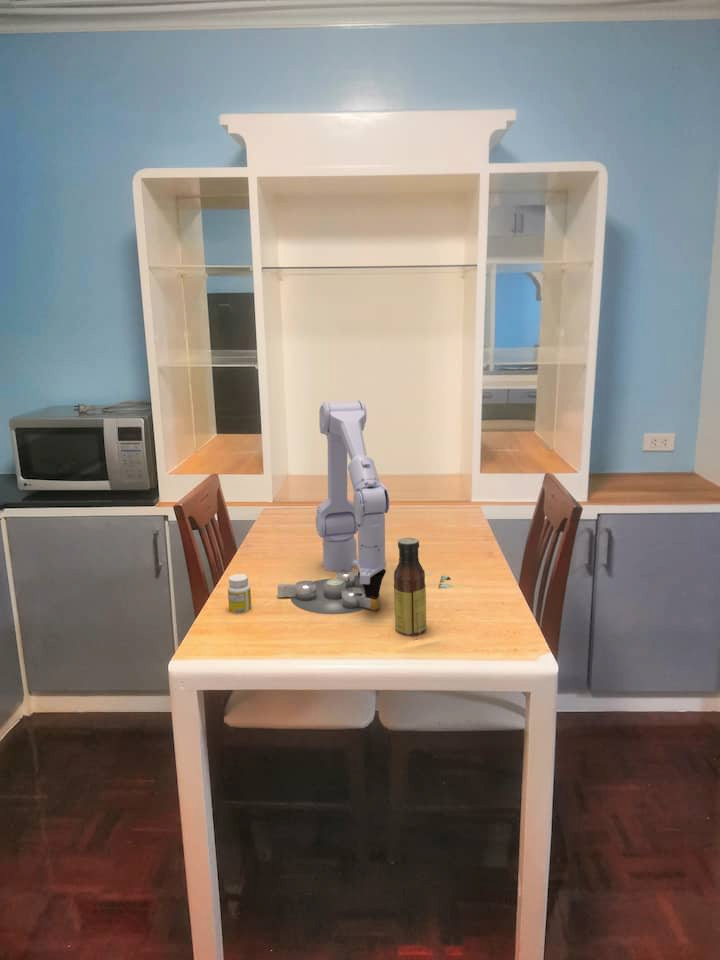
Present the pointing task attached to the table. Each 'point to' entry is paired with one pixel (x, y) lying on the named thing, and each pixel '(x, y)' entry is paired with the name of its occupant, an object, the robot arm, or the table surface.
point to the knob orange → (359, 599)
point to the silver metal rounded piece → (298, 590)
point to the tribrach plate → (327, 598)
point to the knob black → (349, 577)
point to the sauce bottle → (409, 590)
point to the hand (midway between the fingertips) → (372, 602)
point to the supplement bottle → (239, 594)
